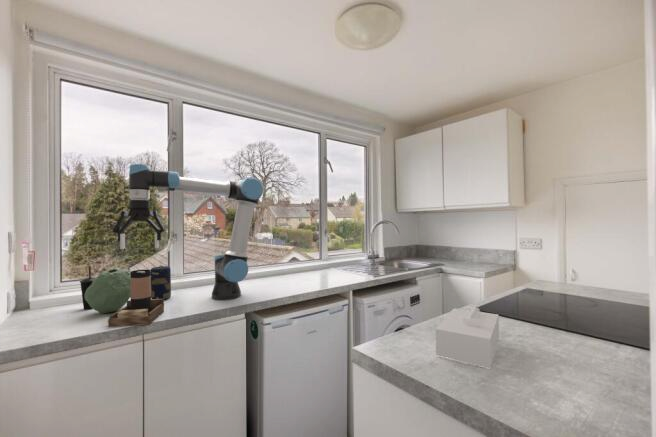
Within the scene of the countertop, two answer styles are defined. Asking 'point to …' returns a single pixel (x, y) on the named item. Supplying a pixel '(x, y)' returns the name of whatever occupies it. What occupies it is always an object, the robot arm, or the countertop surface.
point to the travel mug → (140, 289)
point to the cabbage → (109, 290)
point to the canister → (160, 282)
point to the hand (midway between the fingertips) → (140, 248)
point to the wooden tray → (156, 310)
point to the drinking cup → (84, 285)
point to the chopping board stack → (133, 313)
